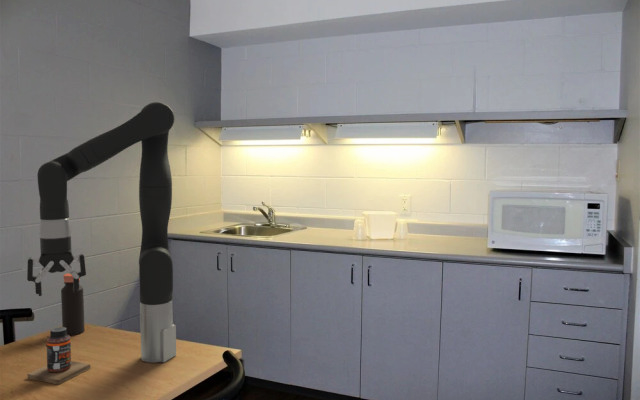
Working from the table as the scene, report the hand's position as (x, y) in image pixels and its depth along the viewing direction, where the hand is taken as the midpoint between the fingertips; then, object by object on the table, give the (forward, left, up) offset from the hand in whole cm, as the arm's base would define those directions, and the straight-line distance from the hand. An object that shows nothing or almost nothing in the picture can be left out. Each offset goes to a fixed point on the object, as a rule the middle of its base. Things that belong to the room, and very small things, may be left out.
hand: (58, 293), depth 142 cm
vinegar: (+22, -26, -23) cm, 41 cm away
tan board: (0, +1, -22) cm, 22 cm away
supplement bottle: (0, +1, -21) cm, 21 cm away
